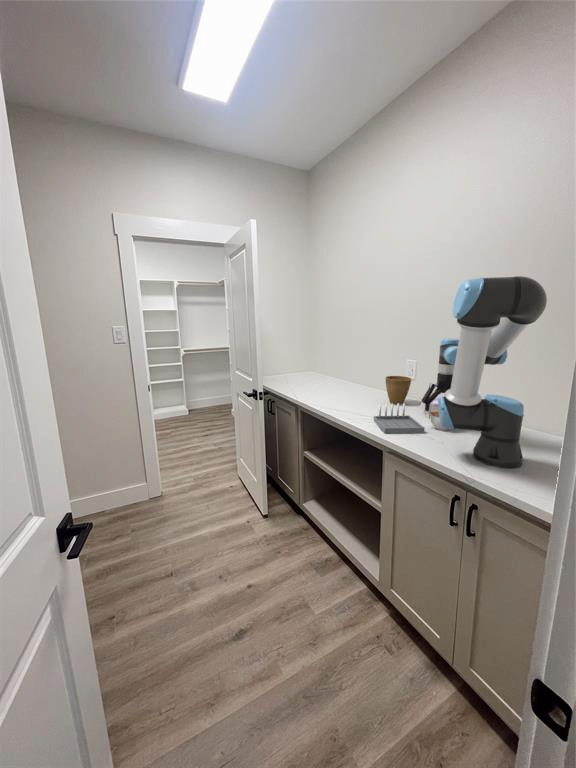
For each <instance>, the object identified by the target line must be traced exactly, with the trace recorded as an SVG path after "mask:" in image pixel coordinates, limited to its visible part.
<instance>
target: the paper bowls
mask: <svg viewBox="0 0 576 768" xmlns="http://www.w3.org/2000/svg"><path fill="white" fill-rule="evenodd" d="M438 400H439V397H436V398H435V399H434V400H433V401H432V402H431V403H430V404H431V411H432V410H435V409H439V408H438ZM420 402H421V403H420V409H422V410H423V411H424V412H425V414H426V412H427V411H426V410H425V404H424V403H423V402H422V401H420Z"/></svg>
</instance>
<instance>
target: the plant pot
mask: <svg viewBox="0 0 576 768" xmlns="http://www.w3.org/2000/svg"><path fill="white" fill-rule="evenodd" d="M384 379H385V389H386V393H387V397H388V401H389V403H390V404H393V405H394V404H395V406H397V403H399V406H401V404H402V405H403V403H405V400H406V398H407V395H408V394H409V390H410V388H411V384H412V378H411V377H407V376H402V375H388V376H385V378H384Z"/></svg>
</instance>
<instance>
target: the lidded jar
mask: <svg viewBox="0 0 576 768" xmlns="http://www.w3.org/2000/svg"><path fill="white" fill-rule="evenodd" d="M430 423H431V425H432V426H433V427H434V428H435V429H436V430H439V431H449V430H450V428H444V427H443V426H442V425H441V423H440V418H439V409H435V410H432V411H431V416H430Z"/></svg>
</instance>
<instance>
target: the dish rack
mask: <svg viewBox="0 0 576 768" xmlns="http://www.w3.org/2000/svg"><path fill="white" fill-rule="evenodd" d="M390 404H391V403H390ZM384 406H385V408H384V409H385V410H384V415H382V403H379V408H378V410H379V411H378V412H379V413H378V415H374V416H373V422H374V423H375V424H376V425H377V426H378V427H377V428H379V429H380V431H381V432H383V434H385V435H387V434H425V427H424V426H423V425H422V424H421V423H419V422H418V421H417V420H416V419H414V418H413V417H412V416H410V415H406V414H405V412H406V403H405V402H404V403H403V404H402V415H399V412H400V405H399V403H397V405H396V406H397V407H396V415H394V404H391V406H390V415H388V403H385V405H384Z"/></svg>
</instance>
